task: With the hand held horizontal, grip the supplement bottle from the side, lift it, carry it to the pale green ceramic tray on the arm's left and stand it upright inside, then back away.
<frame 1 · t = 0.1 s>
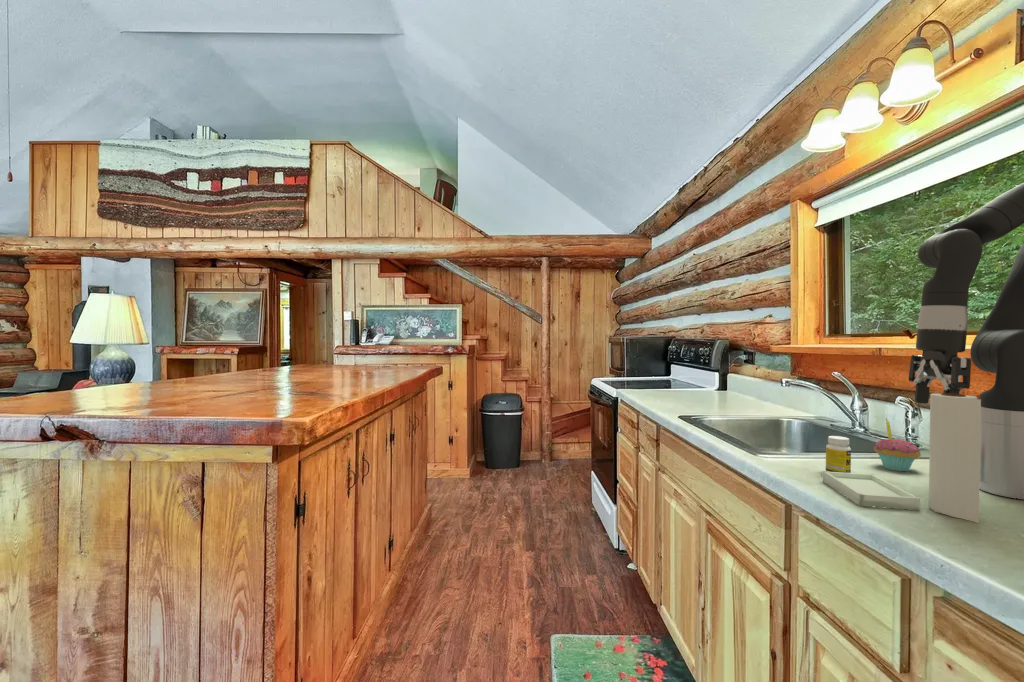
hand: (934, 406, 95), 17 cm above the countertop, tool pointing down, fingers open, 8 cm apart
cupcake: (896, 469, 110), on the countertop
supplement bottle: (837, 474, 105), on the countertop
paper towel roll: (951, 514, 82), on the countertop
tray: (866, 494, 91), on the countertop
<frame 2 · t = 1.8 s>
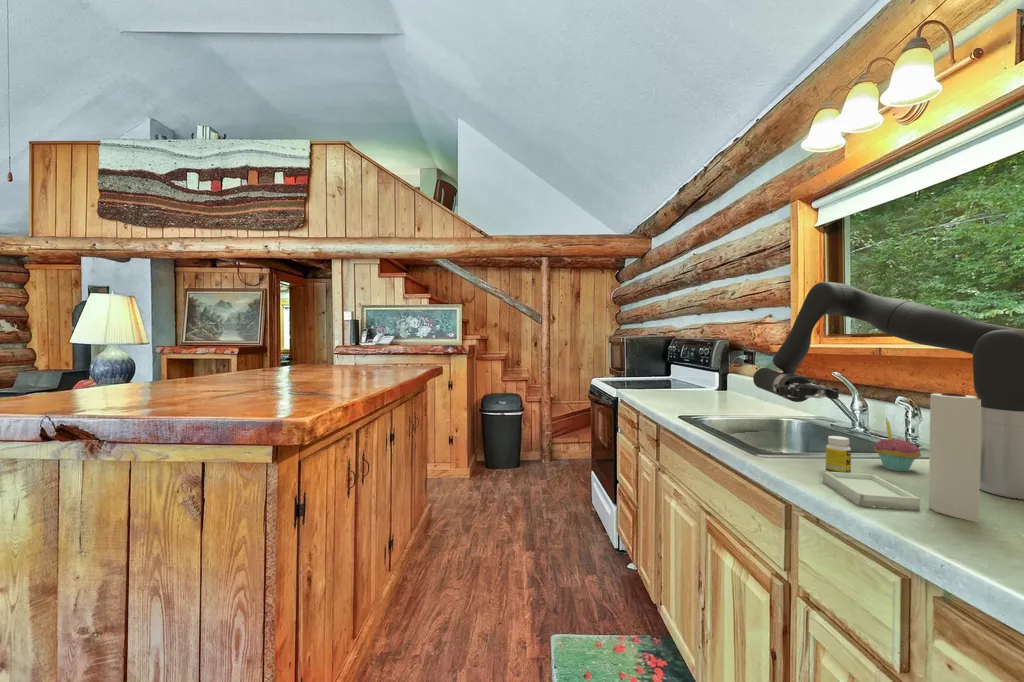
hand: (816, 394, 116), 17 cm above the countertop, tool horizontal, fingers open, 8 cm apart
nothing on the countertop moved.
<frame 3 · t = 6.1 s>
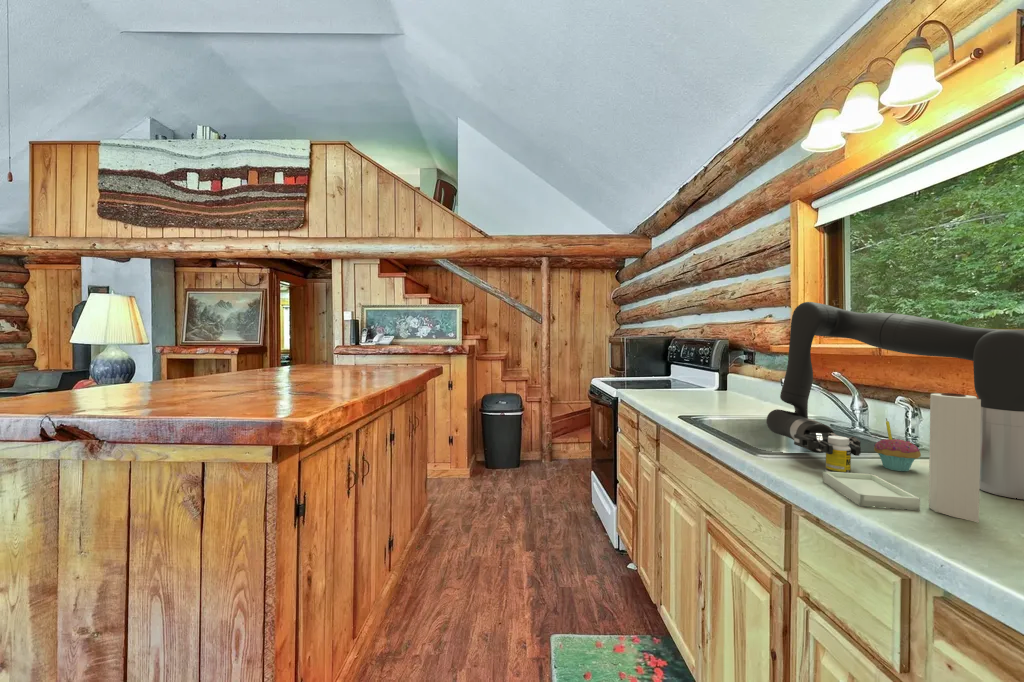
hand: (844, 450, 103), 6 cm above the countertop, tool horizontal, fingers closed on supplement bottle, 4 cm apart
supplement bottle: (838, 474, 105), on the countertop, touching gripper
everything else where it was.
when the fingers open (8 cm above the countertop, at t = 10.5 s): supplement bottle stays where it is, resting on tray.
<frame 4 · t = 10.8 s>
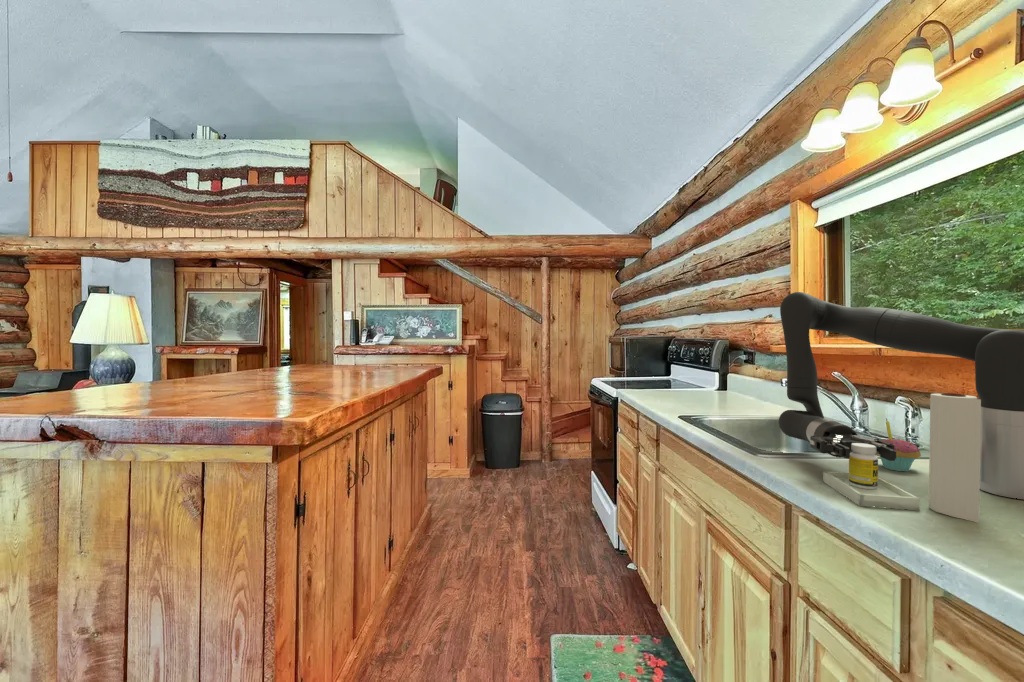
hand: (870, 454, 91), 8 cm above the countertop, tool horizontal, fingers open, 7 cm apart
supplement bottle: (862, 487, 93), point 1 cm above the countertop, touching tray
everything else where it was.
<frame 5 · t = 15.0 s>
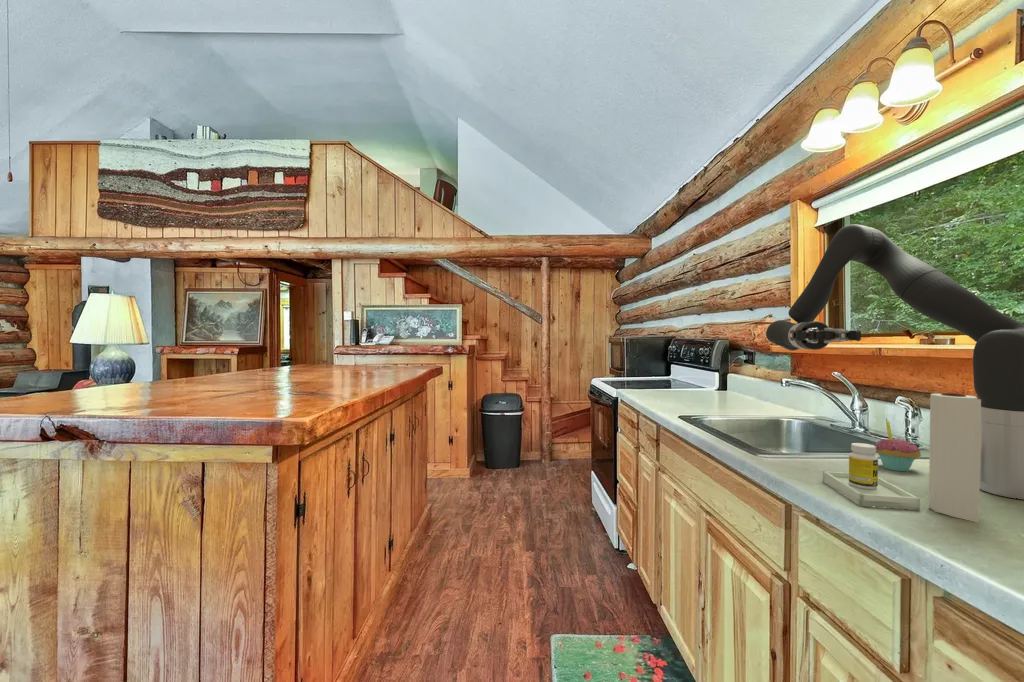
hand: (838, 335, 108), 32 cm above the countertop, tool horizontal, fingers open, 8 cm apart
nothing on the countertop moved.
at the end: supplement bottle inside the target area on the tray (1.6 cm from its centre), point 1.0 cm above the tray's base; supplement bottle tilted 0°; the gripper is holding nothing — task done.
